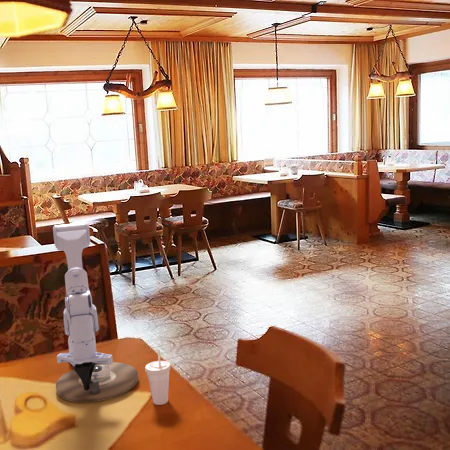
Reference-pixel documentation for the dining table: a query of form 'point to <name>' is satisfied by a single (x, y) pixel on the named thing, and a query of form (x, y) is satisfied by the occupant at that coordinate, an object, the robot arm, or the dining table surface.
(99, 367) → the cover
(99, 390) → the turntable
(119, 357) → the dining table surface
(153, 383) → the smoothie
